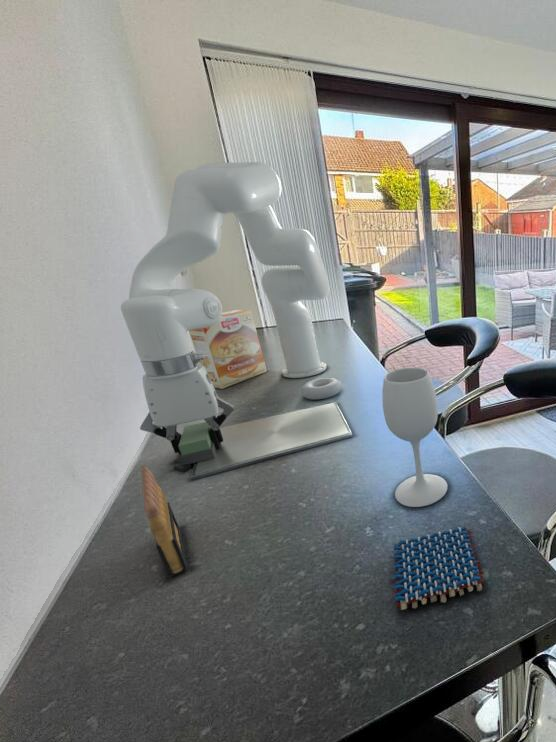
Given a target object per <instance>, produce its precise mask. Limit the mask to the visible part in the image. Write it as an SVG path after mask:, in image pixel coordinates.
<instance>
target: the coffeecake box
mask: <svg viewBox="0 0 556 742" xmlns="http://www.w3.org/2000/svg"><path fill="white" fill-rule="evenodd" d="M188 333H189V336H190V340H191V343H192V347H193V348H194V349H193V350H194V353H196V354H204V357H205V360H204V361H201V362H198V365H203V367H204V368H205V370H206V372H207V373H208V375H209V377H210V379H211V381H212V384H213V386H214V389H221V390H222V389H225V388H228V387H230V386H233V385H236V384H238V383H241V382H243V381H247V380H249V379H252V378H255V377H256V376H258V375H261V374H265V373H267V372H268V370H267V367H266V362H265V358H264V356H263V351H262V347H261V343H260V340H259V336H258V331H257V328H256V324H255V320H254V316H253V312H252V310H243V309H233V310H229V311H224V312H222V315H221V317H220V319H219V320H218V321H217V322H216V323H215V324H213V325H211V326H209V327H205V328H199V329H193V330H188Z"/></svg>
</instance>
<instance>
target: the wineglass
mask: <svg viewBox="0 0 556 742" xmlns="http://www.w3.org/2000/svg"><path fill="white" fill-rule="evenodd" d="M381 398H382V411H383V417H384V420H385V423H386V426H387V428H388V430H389V431H390V433H392V434H393V435H394V436H395V437H397V438H398V439H400V440H402V441H405V442H409V443H410V445H411V447H412V452H413V457H414V465H415V475H413V476H410V477H409V478H406V479H405V480H403V481H402V482H401V483H400V484H399V485H398V486H397V487H396V489H395V492H394V497H395V500H396V501H397V502H398V503H399V504H400V505H403V506H406V507H409V508H422V507H426V506H429V505H433V504H434V503H437V502H438V501H440V500H441V499H442V498H443V497H444V496H445V495H446V494H447V491H448V483H447V481H446V480H445V478H443V477H441V476H439V475H437V474H431V473H424V471H423V466H422V459H421V449H420V448H421V447H420V444H421V441H422V440H424V439H425V438H427V436H429V435H430V434H431V432H433V430H434V428H435V427H436V425H437V422H438V417H439V407H438V406H439V405H438V399H437V393H436V389H435V386H434V383H433V380H432V377H431V374H430V372H429V371H428V370H427V369H426V368H422V367H416V366H415V367H414V366H413V367H412V366H410V367H401V368H397V369H393V370H391V371H389V372H387V373H386V374H385V375H384V377H383V381H382V397H381Z"/></svg>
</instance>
